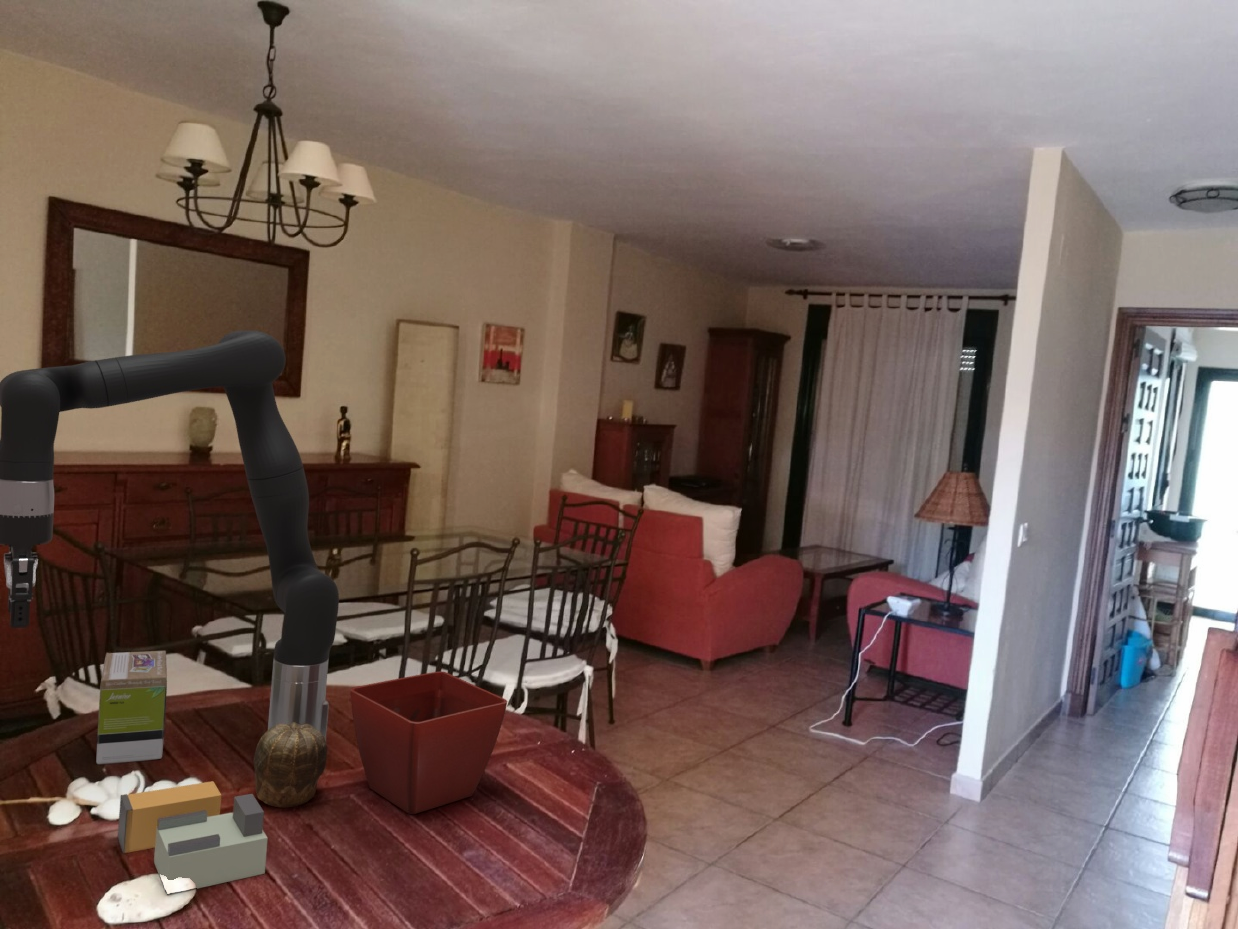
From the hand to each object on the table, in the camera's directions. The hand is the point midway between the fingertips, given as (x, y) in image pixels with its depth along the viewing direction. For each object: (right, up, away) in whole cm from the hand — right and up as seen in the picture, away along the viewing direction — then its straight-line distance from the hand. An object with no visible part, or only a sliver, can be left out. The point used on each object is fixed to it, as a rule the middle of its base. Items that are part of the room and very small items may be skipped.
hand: (18, 619), depth 130 cm
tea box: (+3, -27, +25) cm, 37 cm away
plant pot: (+54, -32, +19) cm, 66 cm away
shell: (+35, -31, +12) cm, 48 cm away
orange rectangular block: (+23, -30, -3) cm, 38 cm away
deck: (+32, -32, -10) cm, 46 cm away
